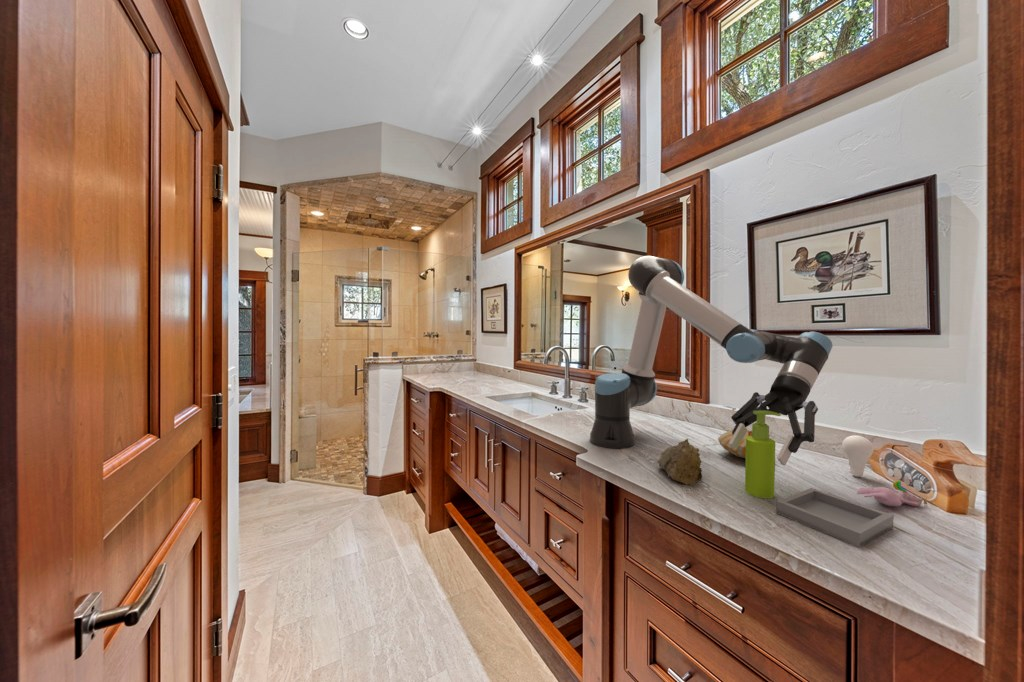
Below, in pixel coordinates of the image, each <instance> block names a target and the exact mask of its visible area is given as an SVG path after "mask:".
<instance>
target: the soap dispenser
mask: <svg viewBox="0 0 1024 682" xmlns="http://www.w3.org/2000/svg"><path fill="white" fill-rule="evenodd" d="M753 413H754V414H756V415H757V421H756V422H754V423H752V424H751V425H752V428H751V429H752V430H751V431H752V436H748V437H746V458H745V470H744V471H745V472H744V475H745V477H744V478H745V479H744V491H745V493H747V494H748V495H750V496H752V497H756V498H761V499H772V498H774V497H775V478H776V477H775V475H776V473H775V471H776V470H775V469H776V468H775V467H776V440H774V439H772V438H771V437H769V435H770V426H769V425H768V424H767V423H766V416H776V417H781V416H782V414H779V413H776V412H773V411H765V410H760V411H753Z"/></svg>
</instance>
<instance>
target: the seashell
mask: <svg viewBox="0 0 1024 682" xmlns="http://www.w3.org/2000/svg"><path fill="white" fill-rule="evenodd" d="M699 452H700V448H696V447H694V446H693V445H691V444H690V442H689V439H688V438H686V439H684V440H682V441H680V442H678V444H676V445H673V446H672V445H670V446H668V447H667V448H665V449H664V450H663V451H662V452H661V453H660V455H661V456H659V457H658V459H656V460H657V461H656V463H657V464H658V466H659V468H660V469H661V470H664V471H665V472H666V473H667V476H668V477H670V478H671V479H672V480H674V481H677V482H680V483H683V485H688V486H689V485H692V486H695V483H699V481H701V480H702V478H703V473H702V471H703V470H702V467H701V466H702V464H701V463H702V460H701V457H700V456H701V455H700V453H699Z"/></svg>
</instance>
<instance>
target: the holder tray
mask: <svg viewBox="0 0 1024 682" xmlns="http://www.w3.org/2000/svg"><path fill="white" fill-rule="evenodd" d="M776 513H777V514H778V515H780V516H783V517H785V518H788V519H790V520H793V521H796V522H797V523H800V524H802V525H805V526H807V527H809V528H812V529H814V530H817V531H818V532H821V533H824V534H827V535H829V536H831V537H833V538H836V539H838V540H841V541H843V542H846V543H848V544H850V545H852V546H855V547H857V548H862V547H863V546H866V545H867V544H869V543H870V542H872V541H873V540H875V539H877V538H878V537H880V536H882V535H884V534H886V533H887V532H889V531H890V530H892V529H894V514H891V513H888V512H884V511H883V510H880V509H879V510H878V509H876V508H873V507H870V506H867V505H864V504H861V503H859V502H855V501H852V500H850V499H846V498H843V497H840V496H836V495H835V494H834V495H833V494H830V493H827V492H825V491H822V490H819V489H816V488H813V487H809V488H807V489H804V490H802V491H799V492H797V493H794V494H792V495H789V496H787V497H783V498H781V499H778V500H777V501H776Z"/></svg>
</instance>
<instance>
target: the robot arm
mask: <svg viewBox="0 0 1024 682" xmlns="http://www.w3.org/2000/svg"><path fill="white" fill-rule="evenodd" d="M627 275H628V280H629V283H630V285H631V286H632V288H634V289H635V290H636V291H637V292H638V297H639V298H640V299H641V300H640V301H641V303H640V307H639V311H638V317H637V321H636V325H635V331H634V333H633V338H632V339H633V340H632V344H631V348H630V351H629V356H628V362H627V364H626V365H624V366H622V369H621V372H611V373H604V374H603V373H602V374H601V375H599V376H597V377H596V378H595V383H594V384H595V385H594V404H595V405H594V407H595V409H594V415H595V416H594V417H595V418H594V421H593V425H592V430H591V432H590V434H589V441H590V442H591V443H592V444H594V445H596V446H599V447H602V448H610V449H624V448H625V449H627V448H631V447H632V446H634V445H635V444H636V436H635V433H634V431H633V427H632V424H631V422H630V421H631V420H630V417H631V415H630V412H631V410H630V409H632V408H636V407H640V406H641V407H642V406H645V405H647V404H649V403H650V402H652V401H653V400H654V399H655V397H656V396H657V392H658V384H657V382H656V380H655V379H656V373H655V372H654V371H653V367H654V363H655V358H656V355H657V350H658V345H659V340H660V338H661V332H662V328H663V323H664V320H665V317H666V311H667V309H669V310H670V311H672V312H673V313H675V315H677V316H678V317H680V318H682V319H683V320H685V321H686V322H687V323H688V324H690V325H691V326H692V327H694V328H695V329H697V330H698V331H699V332H701V333H703V334H704V335H705V336H706V337H708V338H710V339H711V340H712V341H714V342H715V343H716V344H718V345H719V346H721V347H722V348H723V349H725V350H726V353H727V355H728V356H729V358H730V359H731V360H733V361H735V362H737V363H742V364H743V363H745V364H748V363H749V364H750V363H755V362H758V361H763V360H767V361H771V362H775V363H778V364H779V363H780V364H783V365H782V366H781V368H780V370H779V372H778V373H777V376H776V378H775V379H774V381H773V382H772V384H771V387H770V390H769V392H768V393H766V394H765V395H764V394H759V392H757V391H756V392H753V394H752V396H751V397H750V399H749V400H748V401H747V402H746V403H744V404H743V405H742V406H741V407H740V408H739V409H738V410H737V411H736V412H735V413H734V414H733V415H732V416H731V419H732V421H733V423H734V424H735V426H734V428H733V429H732V430H733V431H732V434H733V437H732V438H731V440H730V442H729V445H730V446H731V448H732V449H733V450H737V448H738V446H739V445H740V443H741V441H742V439H743V437H744V436H745V434H746V432H747V430H748V429H747V428H748V427H749V426H750V425H752V424H754V423H756V422H757V415H756V414H754V413H753V411H760V410H765V411H773V412H776V413H779V414H781V416H786V417H787V416H788V420H789V423H790V426H791V430H792V434H793V435H792V434H788V436H787V437H786V440H785V441H784V443H783V445H782V447H781V449H780V451H779V453H778V454H777V456H776V458H777V460H778V461H779V464H781V466H786V465H787V463H788V461H789V459H790V457H791V456H792V453H794V454H796V453H797V452H798V451H799V448H800V446H801V444H802V443H804V442H808V443H814V442H815V429H816V428H815V427H816V425H815V424H816V423H815V421H816V419H815V418H816V415H817V412H818V410H819V408H818V406H817V405H816V402H815V401H813V400H809V401H808V402H807V399H808V397H809V395H810V393H811V389H813V387H814V385H815V383H816V381H817V379H818V377H819V375H820V373H821V371H822V369H823V368H824V366H825V364H826V362H827V361H828V360H829V355H830V354H831V351H832V348H833V342H832V340H831V339H830V338H829V337H828V336H827V335H825V334H823V333H821V332H817V331H809V332H808V331H805V332H802V333H801V334H799V336H798V337H794V336H787V335H782V334H778V333H773V332H769V331H768V332H767V331H763V330H761V329H760V330H759V329H752V328H748V327H747V326H744V325H743V323H741V322H739V321H737V320H736V319H735V318H733V317H731V316H729V315H728V314H727V313H725V312H724V311H722V310H720V309H719V308H717V307H716V306H714V305H713V304H711V303H710V302H708V301H707V300H705V299H704V298H702V297H701V296H699V295H698V294H696V293H694V292H693V291H691V289H689V288H687V287H685V286H683V284H684V281H685V273H684V270H683V268H682V267H681V265H680V264H679V263H678V262H676V261H674V260H672V259H669V258H663V257H658V256H652V255H644V256H640V257H639V258H636V260H634V261H633V262H632V263H631V265H630V266H629V269H628V274H627ZM801 409H804V417H803V418H804V421H803V424H804V425H803V432H802V430H801V426H800V423H799V421H798V416H797V411H799V410H801Z"/></svg>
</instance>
